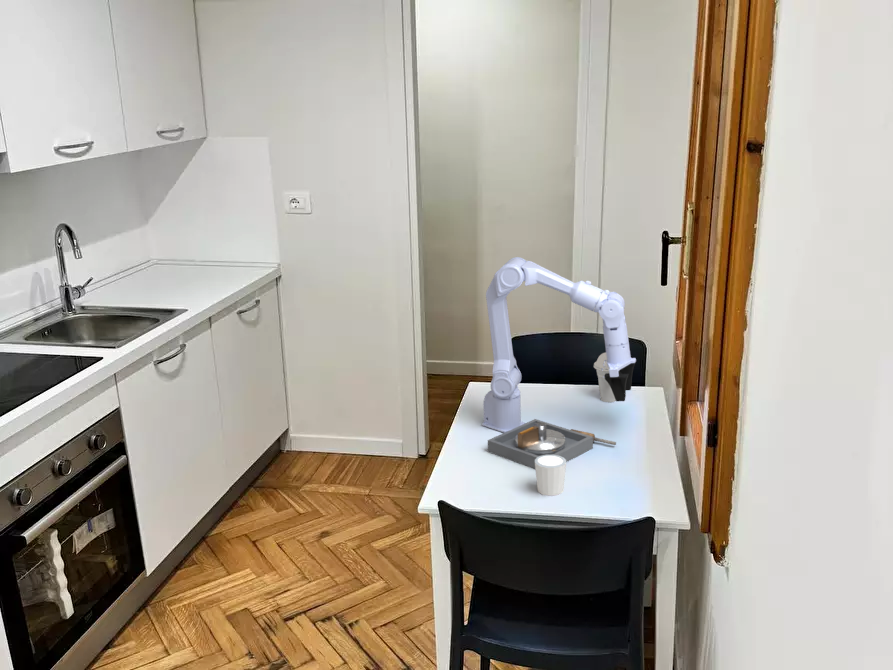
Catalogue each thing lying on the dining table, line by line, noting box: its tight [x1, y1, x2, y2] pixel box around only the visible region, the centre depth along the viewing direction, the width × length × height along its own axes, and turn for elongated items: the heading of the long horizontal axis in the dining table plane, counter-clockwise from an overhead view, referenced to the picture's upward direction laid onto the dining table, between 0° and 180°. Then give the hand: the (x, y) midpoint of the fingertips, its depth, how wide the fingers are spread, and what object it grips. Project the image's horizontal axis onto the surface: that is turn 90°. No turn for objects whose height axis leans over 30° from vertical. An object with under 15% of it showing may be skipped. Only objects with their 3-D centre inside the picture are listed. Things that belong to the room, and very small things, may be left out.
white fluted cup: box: [535, 455, 567, 497], centre depth 180 cm, size 7×7×7 cm
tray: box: [487, 418, 594, 470], centre depth 201 cm, size 18×18×3 cm
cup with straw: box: [593, 351, 617, 403], centre depth 230 cm, size 8×9×20 cm
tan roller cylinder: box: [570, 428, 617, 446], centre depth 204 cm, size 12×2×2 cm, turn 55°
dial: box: [515, 422, 565, 455], centre depth 200 cm, size 14×12×5 cm
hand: (623, 395), depth 206 cm, fingers open, 7 cm apart
